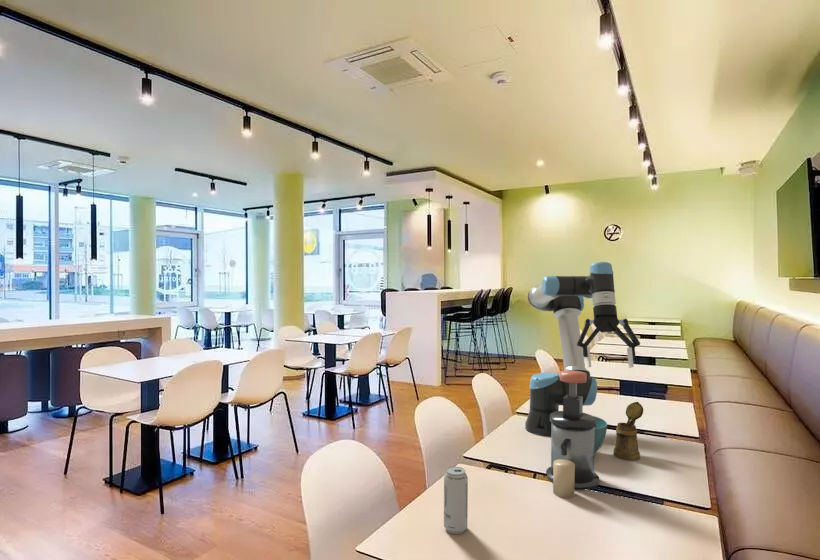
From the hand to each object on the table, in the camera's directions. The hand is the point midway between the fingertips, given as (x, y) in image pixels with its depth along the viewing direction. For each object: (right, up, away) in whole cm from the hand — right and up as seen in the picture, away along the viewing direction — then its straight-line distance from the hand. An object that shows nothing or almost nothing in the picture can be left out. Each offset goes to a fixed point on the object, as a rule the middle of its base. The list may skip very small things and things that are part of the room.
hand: (610, 367), depth 161 cm
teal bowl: (-6, -34, +11) cm, 36 cm away
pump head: (-16, -9, -10) cm, 21 cm away
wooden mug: (+12, -34, +11) cm, 37 cm away
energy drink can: (-56, -34, -40) cm, 77 cm away
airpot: (-17, -34, -12) cm, 40 cm away
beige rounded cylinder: (-22, -34, -20) cm, 45 cm away
